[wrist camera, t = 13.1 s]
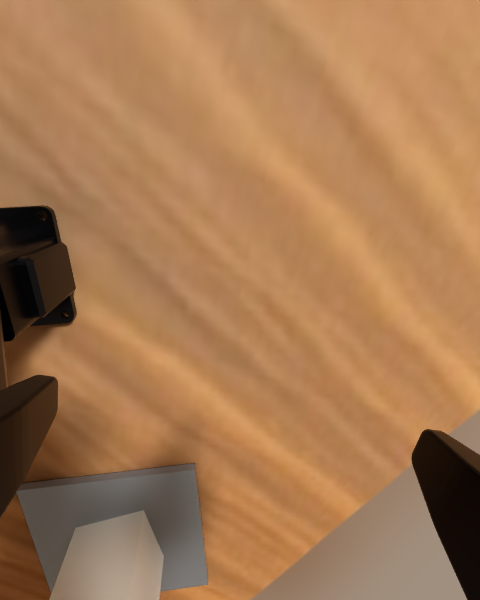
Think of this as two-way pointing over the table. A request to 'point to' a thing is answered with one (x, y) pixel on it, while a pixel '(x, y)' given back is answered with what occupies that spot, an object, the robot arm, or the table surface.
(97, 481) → the slate coaster
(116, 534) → the cream block
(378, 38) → the table surface
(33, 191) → the table surface
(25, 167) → the table surface
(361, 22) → the table surface
